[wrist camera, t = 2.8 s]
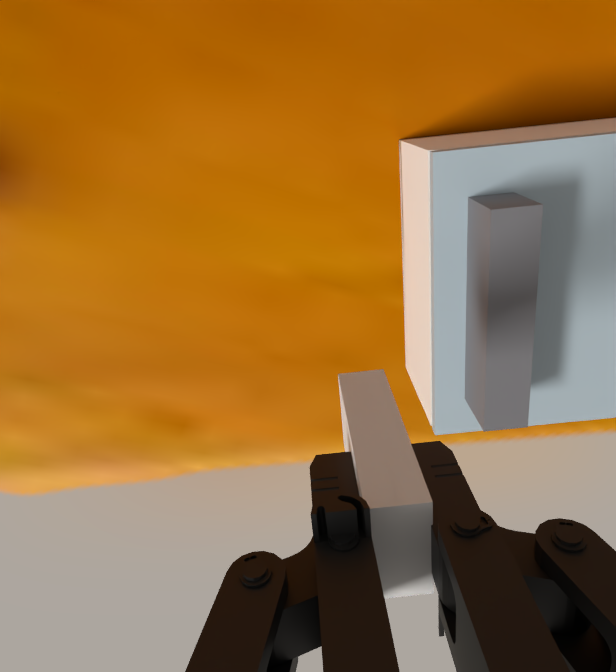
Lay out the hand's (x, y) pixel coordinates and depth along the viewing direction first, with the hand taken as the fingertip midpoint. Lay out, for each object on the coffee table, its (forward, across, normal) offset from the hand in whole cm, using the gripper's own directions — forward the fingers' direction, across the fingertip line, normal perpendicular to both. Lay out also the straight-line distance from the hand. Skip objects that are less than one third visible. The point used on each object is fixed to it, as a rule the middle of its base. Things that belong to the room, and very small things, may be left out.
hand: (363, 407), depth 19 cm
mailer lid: (+9, +14, 0) cm, 17 cm away
